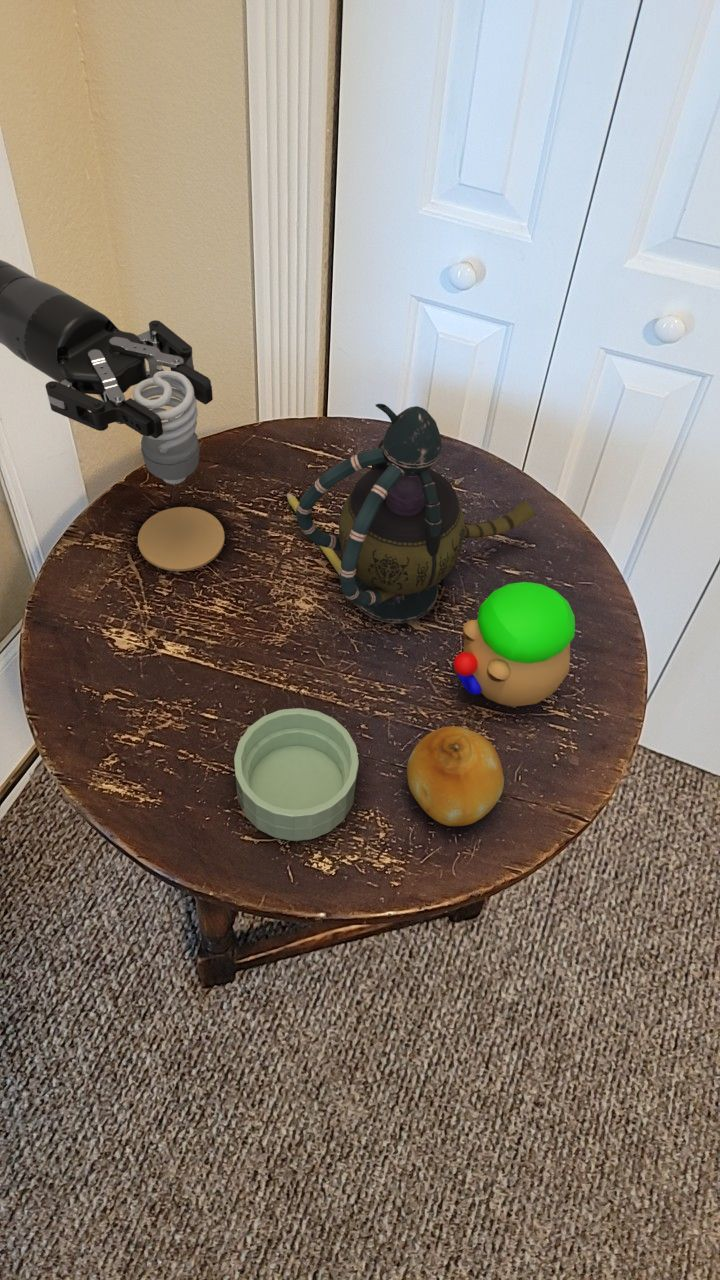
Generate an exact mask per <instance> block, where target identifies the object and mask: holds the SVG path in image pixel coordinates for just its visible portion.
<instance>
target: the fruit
mask: <svg viewBox="0 0 720 1280" xmlns="http://www.w3.org/2000/svg"><path fill="white" fill-rule="evenodd" d="M406 766H407V767H406V777H407V778H406V779H407V784H408V788H409V790H410V793H411V795H412V796H413V798H414V799H415V801H416V802H417V804H418V805H419V807H420V808H421V809H422V810H423V811H424V812H425V813H426V814H427V815H428V816H429V818H431V819H432V820H434V821H436V822H438V823H439V824H441V825H444V826H446V827H462V826H469V825H472V824H474V823H476V822H478V821H479V820H482V819H483V818H484V817H486V815H487V814H488V813H490V812H491V811H492V809H493V808H494V807H495V806H496V804H497V803H498V802H499V800H500V798H501V796H502V794H503V790H504V787H505V786H504V784H505V777H504V776H505V775H504V771H503V767H502V762H501V759H500V757H499V755H498V753H497V750H496V748H495V747H494V745H493V744H492V742H491V741H490V740H488V739H487V738H486V737H485V736H483V735H481V734H480V733H478V732H476V731H473V730H471V729H468V728H466V727H463V726H458V725H450V726H443V727H440V728H438V729H435V730H433V731H431V732H429V733H427V734H426V735H425V736H424V737H423V738H422V739H420V741H419V742H418V743H417V744H416V746H415V747H414V748H413V750H412V751H411V753H410V755H409V758H408V760H407V765H406Z"/></svg>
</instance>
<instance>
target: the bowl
mask: <svg viewBox="0 0 720 1280" xmlns="http://www.w3.org/2000/svg"><path fill="white" fill-rule="evenodd" d="M359 761H360V760H359V755H358V750H357V745H356V742H355V741H354V740H353V738H352V736H351V734H350V732H349V731H348V730H347V728H345V727H344V726H343V725H342V724H341V723H340V722H339V721H338V720H336V719H335V718H334V717H332V716H330V715H327V714H326V713H323V712H321V711H318V710H314V709H309V708H302V707H296V708H285V709H284V708H283V709H278V710H276V711H274V712H271V713H269V714H265V715H263V716H262V717H260V718H259V719H257V720H256V721H255V722H254V723H252V724H251V725H250V726H249V727H248V728H247V729H246V731H245V732H244V733H243V735H242V736H241V738H240V739H239V741H238V743H237V747H236V750H235V753H234V757H233V762H234V763H233V765H234V775H235V786H236V797H237V802H238V804H239V806H240V808H241V810H242V813H243V815H244V817H245V818H246V819H247V820H248V821H249V822H250V823H251V824H252V826H254V827H255V828H256V829H257V830H259V831H261V832H263V833H265V834H266V835H269V836H271V837H273V838H275V839H280V840H286V841H290V842H296V841H298V842H299V841H307V840H312V839H313V840H314V839H316V838H318V837H321V836H323V835H325V834H328V833H329V832H332V831H333V830H334V829H335V828H336V827H337V826H339V825H340V824H341V823H342V822H343V821H344V820H345V819H346V817H347V815H348V814H349V812H350V811H351V809H352V807H353V805H354V802H355V796H356V793H357V792H356V791H357V784H358V774H359V767H360V766H359V765H360V762H359Z"/></svg>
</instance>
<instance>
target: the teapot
mask: <svg viewBox="0 0 720 1280" xmlns="http://www.w3.org/2000/svg"><path fill="white" fill-rule="evenodd" d="M375 407H376V408H377V409H379V410H380V411H382V412H383V413H384V414H385V415H386V416H387V417H388V418H389V420H390V422H391V423H390V424H389V426H387V429H386V432H385V434H384V437H383V438H382V439H381V440H380V441H379V443H378V446H377V447H376V448H374V449H369V450H366V451H362V452H360V453H357V454H355V455H352V456H351V457H348V458H346V459H344V460H342V461H341V462H339V463H337V464H336V465H334V466H332V467H331V468H330V469H328V470H327V471H325V472H324V473H322V475H320V476H319V477H318V478H317V480H316V481H314V482H313V483H312V484H310V486H309V487H308V488H307V489H306V491H305V492H304V493H303V494H302V495H301V497H300V499H299V501H298V502H299V504H298V507H297V510H296V512H295V515H296V520H297V525H298V527H299V528H300V530H301V531H302V533H303V534H304V535H303V536H305V537H307V539H309V540H310V541H312V542H313V543H314V544H316V545H317V546H318V547H319V546H323V547H326V548H330V549H333V551H338V552H340V553H342V558H341V560H340V561H341V569H340V576H339V581H340V586H341V590H342V593H343V594H344V596H345V598H346V600H347V602H349V603H351V604H353V605H355V606H356V607H357V608H358V609H359V610H360V611H361V612H362V614H363V613H364V615H367V616H368V617H370V618H372V619H373V620H376V621H379V622H383V623H387V624H405V623H409V622H415V621H417V620H419V619H421V618H422V617H424V616H426V615H428V613H429V612H430V611H431V610H432V609H433V607H434V606H435V605H436V602H437V600H438V596H439V584H438V583H440V581H442V580H443V579H445V578H446V576H448V574H449V573H450V572H451V571H452V569H454V567H455V566H456V563H457V561H458V558H459V556H460V555H461V551H462V548H463V545H464V542H465V539H478V538H487V537H496V536H497V535H501V534H503V533H506V532H508V531H511V530H513V529H515V528H517V527H519V526H520V525H522V524H524V523H526V522H527V521H529V520H530V519H532V518H534V517H536V516H537V515H538V514H537V513H536V512H535V511H534V510H533V508H532V507H531V506H530V505H529V504H528V503H527V501H526V500H525V499H523V500H522V501H521V502H519V504H518V505H517V506H516V507H515V508H514V509H513V510H511V511H510V512H508V513H506V514H504V515H502V516H499V517H497V518H494V519H491V520H487V521H485V522H482V523H476V524H466V523H465V517H464V513H463V509H462V505H461V502H460V498H459V497H458V494H457V492H456V490H455V488H454V487H453V485H452V483H451V482H450V481H449V480H447V479H446V478H445V477H444V476H443V475H442V474H441V473H439V472H438V471H435V470H434V469H431V467H433V465H434V464H435V463H436V462H437V461H438V460H439V458H440V457H441V454H442V450H443V443H442V437H441V433H440V429H439V427H438V425H437V422H436V420H435V418H433V416H432V415H431V414H430V413H429V412H428V411H427V410H426V408H423V407H422V406H418V405H416V406H409V407H408V408H405V409H404V410H403V411H401V412H399V413H398V414H396V413H395V411H393V410H392V409H391V408H390V407H389V406H387V405H386V403H385V404H384V403H375ZM388 463H389V464H388ZM368 467H370V468H371V470H368V471H366V473H364V475H362V476H361V477H360V478H359V479H358V480H357V482H356V483H355V484H354V485H353V487H352V489H350V492H349V493H348V496H347V497H346V500H345V502H344V504H343V506H342V508H341V510H340V513H339V519H338V536H336V535H333V534H330V533H327V532H323V531H322V530H320V529H319V528H318V527H317V526H315V525H316V524H315V522H314V521H313V518H312V510H313V508H314V506H315V505H316V504H317V502H318V501H319V500H320V499H321V498H322V497H323V496H324V495H325V494H326V493H327V492H328V491H329V490H330V489H331V488H333V486H335V485H336V484H338V483H339V482H341V481H342V480H344V479H346V478H347V477H349V476H350V475H352V474H354V473H356V472H359V471H361V470H363V469H365V468H368ZM317 528H318V529H317Z"/></svg>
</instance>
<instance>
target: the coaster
mask: <svg viewBox="0 0 720 1280" xmlns="http://www.w3.org/2000/svg"><path fill="white" fill-rule="evenodd" d="M225 537H226V536H225V530H224V527H223V525H222V523H221V522H220V521H219V520H218V519H217V517H216V516H214V515H213V514H212V513H210V512H208V511H206V510H204V509H200V508H196V507H190V506H177V507H171V508H167V509H164V510H161V511H159V512H157V513H155V514H153V515H151V516H150V517H149V518H147V519H146V521H145V522H144V523H143V524H142V525H141V527H140V528H139V531H138V534H137V546H138V550H139V552H140V554H141V556H142V557H143V558H144V559H145V560H146V561H147V562H148V563H149V564H151V565H152V566H154V567H156V568H159V569H162V570H164V571H169V572H188V571H193V570H196V569H197V570H198V569H200V568H202V567H204V566H206V565H208V564H209V563H211V562H212V561H213V560H215V559H216V558H217V557H218V556H219V554H220V553H221V552H222V549H223V548H224V545H225V539H226V538H225Z"/></svg>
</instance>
